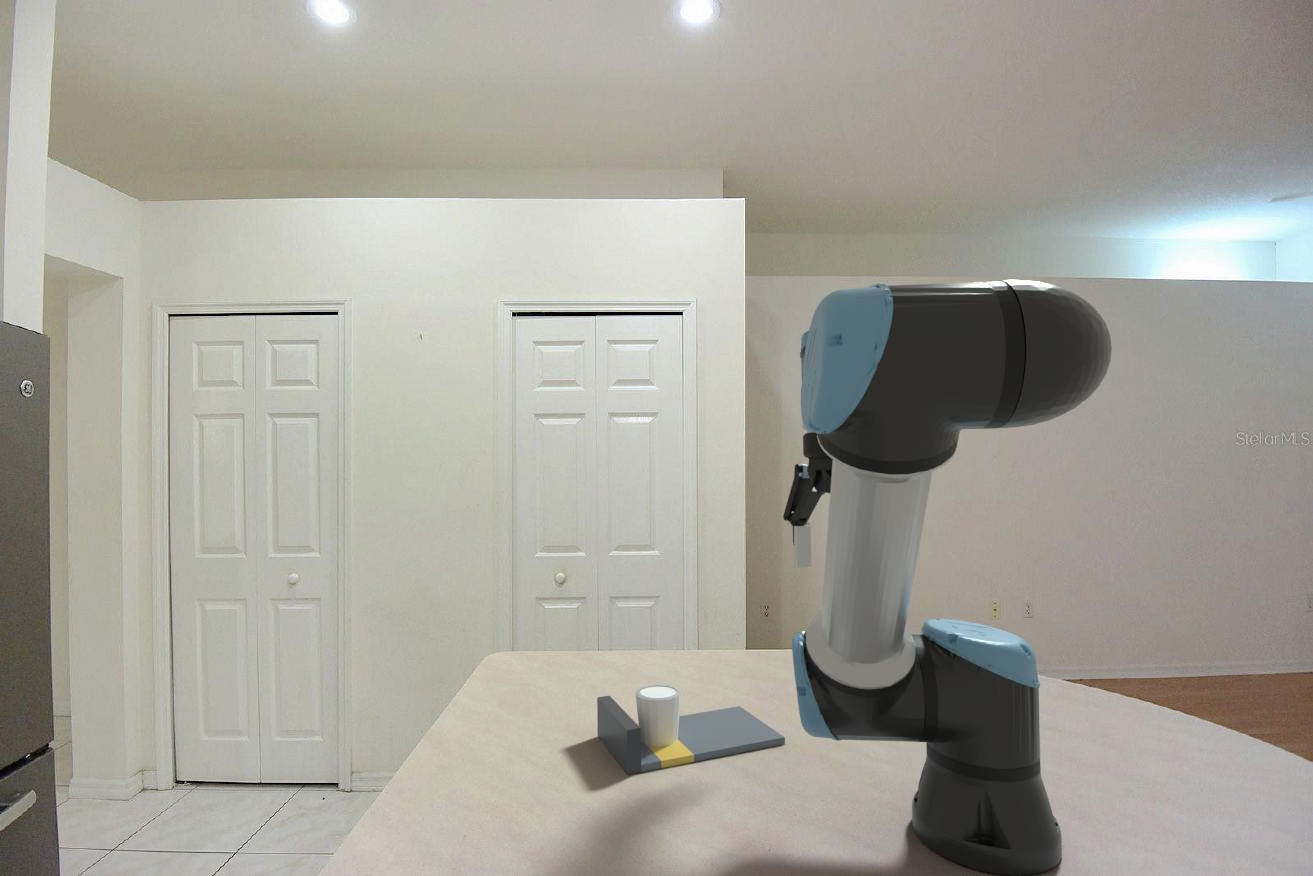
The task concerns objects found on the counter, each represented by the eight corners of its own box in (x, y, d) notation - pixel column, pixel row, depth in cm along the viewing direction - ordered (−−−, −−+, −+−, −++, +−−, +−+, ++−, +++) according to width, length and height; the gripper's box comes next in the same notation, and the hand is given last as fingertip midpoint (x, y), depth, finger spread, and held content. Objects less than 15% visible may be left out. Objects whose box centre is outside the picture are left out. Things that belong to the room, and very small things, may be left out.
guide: (784, 744, 101) (784, 703, 101) (627, 775, 92) (626, 730, 92) (739, 712, 114) (738, 676, 114) (597, 736, 105) (597, 697, 105)
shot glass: (682, 748, 98) (681, 699, 98) (634, 748, 98) (634, 699, 98) (681, 729, 105) (680, 683, 105) (637, 729, 105) (636, 684, 105)
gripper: (909, 426, 93) (914, 582, 92) (797, 436, 115) (800, 561, 114) (867, 425, 90) (872, 586, 89) (760, 435, 112) (763, 564, 111)
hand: (831, 572), depth 102 cm, fingers open, 13 cm apart
